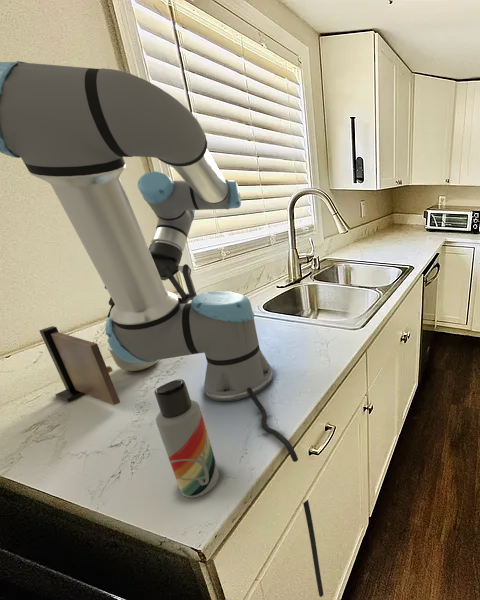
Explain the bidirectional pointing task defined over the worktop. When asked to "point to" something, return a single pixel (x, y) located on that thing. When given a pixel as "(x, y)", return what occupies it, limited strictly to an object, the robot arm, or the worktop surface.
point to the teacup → (127, 365)
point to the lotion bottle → (185, 439)
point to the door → (86, 367)
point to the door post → (59, 366)
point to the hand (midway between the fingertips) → (143, 321)
